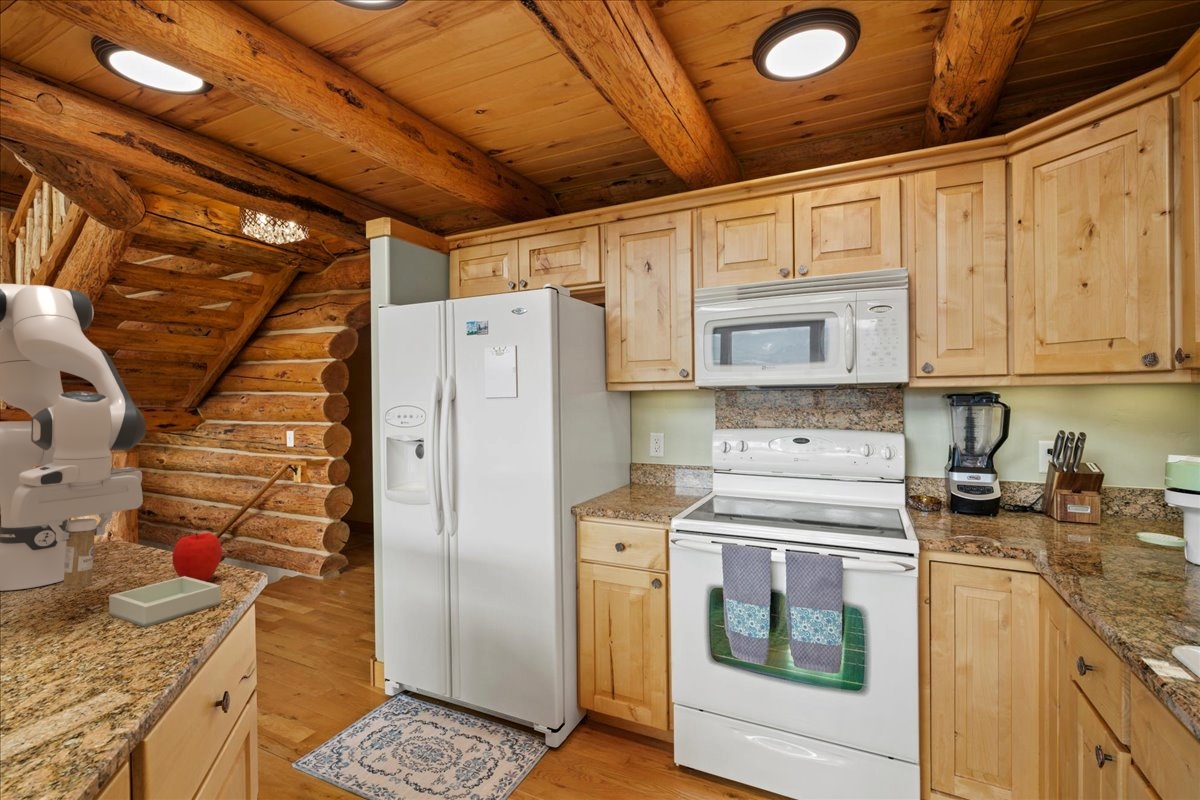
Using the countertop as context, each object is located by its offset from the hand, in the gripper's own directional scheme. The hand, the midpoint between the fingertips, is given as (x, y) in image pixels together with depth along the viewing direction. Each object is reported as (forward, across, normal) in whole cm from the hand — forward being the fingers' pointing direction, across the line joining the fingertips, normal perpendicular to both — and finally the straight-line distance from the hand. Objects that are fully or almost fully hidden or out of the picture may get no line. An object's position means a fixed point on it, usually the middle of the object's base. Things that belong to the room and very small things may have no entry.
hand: (80, 537), depth 114 cm
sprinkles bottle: (+10, 0, 0) cm, 10 cm away
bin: (+16, -10, +12) cm, 22 cm away
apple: (+16, -23, -1) cm, 28 cm away
